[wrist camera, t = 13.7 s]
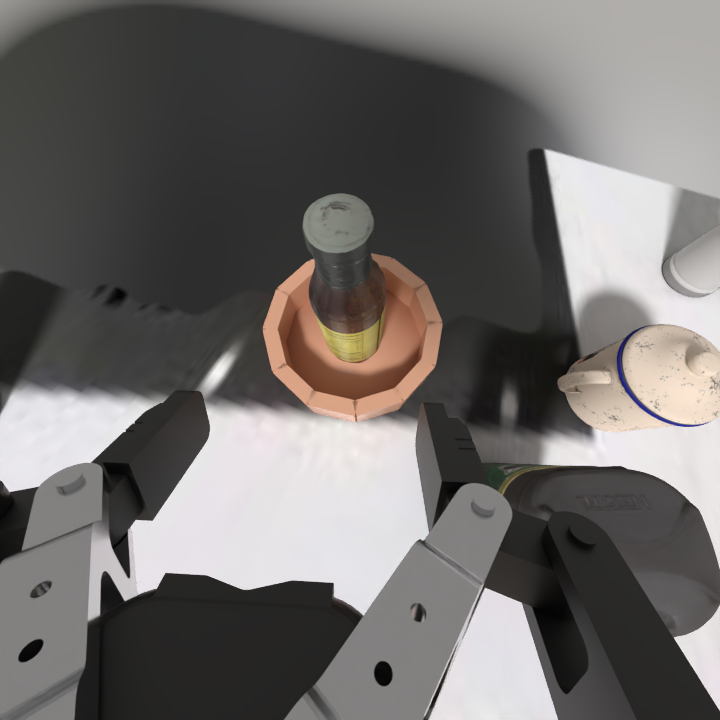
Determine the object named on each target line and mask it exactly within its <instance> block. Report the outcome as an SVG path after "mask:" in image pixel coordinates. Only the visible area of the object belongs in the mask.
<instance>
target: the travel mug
mask: <svg viewBox="0 0 720 720" xmlns="http://www.w3.org/2000/svg"><path fill="white" fill-rule="evenodd" d="M663 275H664V278H665V280H666V282H667V283H668V284H669V285H670V286H671V287H672V288H673V289H674V290H675V291H677V292H679V293H680V294H682V295H685V296H689V297H704V296H707V295H709V294H711V293H713V292H715V291H717V290H719V289H720V224H719V225H717V226H716V227H714V228H713V229H711V230H710V231H708V232H707V233H705V234H704V235H702V236H701V237H699V238H698V239H696V240H695V241H693V242H692V243H690V244H689V245H687V246H686V247H684V248H683V249H681V250H680V251H678V252H677V253H675V254H674V255H672V256H671V257H669V258H668V259H667V260H666V261H665V263H664V265H663Z"/></svg>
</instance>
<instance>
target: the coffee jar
mask: <svg viewBox="0 0 720 720" xmlns="http://www.w3.org/2000/svg"><path fill="white" fill-rule="evenodd" d="M482 465H483V468H484V470H485V473H486V475H487V478H488V480H489V483H490V485H491V487H492V488H493V489H495V490H496V491H498V492H499V493H500V494H502V495H503V496H504V497H505V499H506V500H507V501H508V503H509V504H510V507H511V508H513V509H515V510H517V511H519V512H522V513H525V514H528V515H531V516H534V517H537V518H540V519H543V520H546V521H548V520H549V518H550V517H551V515H552V514H554V513H556V512H560V511H568V512H573V513H577V514H580V515H582V516H584V517H586V518H588V519H590V520H591V521H593V522H594V523H596V524H597V525H598V526H600V527H601V528H602V529H603V530H604V531H605V532H606V533H607V534H608V536H609V537H610V538H611V540H612V541H613V543H614V544H615V546H616V548H617V549H618V551H619V552H620V554H621V555H622V557H623V559H624V560H625V562H626V563H627V565H628V567H629V568H630V570H631V571H632V573H633V574H634V576H635V578H636V579H637V581H638V582H639V584H640V586H641V587H642V589H643V590H644V592H645V593H646V595H647V597H648V598H649V600H650V601H651V603H652V605H653V606H654V608H655V609H656V611H657V613H658V614H659V616H660V617H661V619H662V620H663V622H664V624H665V625H666V627H667V628H668V630H669V632H670V633H671V635H672V636H673V637H677V636H682V635H686V634H689V633H691V632H693V631H695V630H697V629H699V628H700V627H702V626H703V625H704V624H705V623H706V622H707V621H708V620H710V619H711V618H712V616H713V615H714V614H715V612H716V611H717V609H718V607H719V605H720V569H719V565H718V561H717V558H716V554H715V551H714V548H713V545H712V542H711V539H710V536H709V533H708V531H707V528H706V525H705V523H704V520H703V518H702V515H701V513H700V511H699V509H697V508H696V507H695V506H694V505H693V504H692V503H690V502H689V501H688V500H687V498H686V497H685V496H683V495H682V494H681V493H680V492H679V491H678V490H676V489H675V488H674V487H672V486H671V485H669V484H668V483H666V482H665V481H663V480H661V479H659V478H657V477H655V476H653V475H650V474H647V473H644V472H640V471H635V470H629V469H626V468H624V467H621V466H611V467H596V466H555V465H532V464H506V463H482Z"/></svg>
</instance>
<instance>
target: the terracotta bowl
mask: <svg viewBox="0 0 720 720" xmlns="http://www.w3.org/2000/svg"><path fill="white" fill-rule="evenodd" d="M371 256H372V259H373V260H375V261H376V262H377V263H378V264H379V267H380V269H381V270H382V271H383V273H384V277H385V282H386V292H385V295H386V304H385V313H384V323H383V332H382V339H381V343H380V345H379V348H378V350H377V352H376V353H375V354H374V355H373V356H371V357H370V358H369V359H368V360H366V361H364V362H362V363H348V362H345V361H342V360H340V359H338V358H337V357H336V356H335V355H334V354H333V353H332V352H331V351H330V350H329V348H328V346H327V344H326V341H325V339H324V336H323V334H322V331H321V328H320V326H319V323H318V321H317V318H316V316H315V314H314V312H313V309H312V307H311V303H310V300H309V283H310V280H311V277H312V274H313V271H314V268H315V261H314V259H312V260H310V262H309V261H307V262H306V263H305V264H304V265H303V266H302V267H301V268H300V269H298V270H297V271H296V272H295V273H294V274H293V275H292V276H290V277H289V278H288V279H287V280H286V281H285V282H284V283H282V284H281V285H280V286H279V287H278V290H276V292H275V295H274V297H273V300H272V303H271V306H270V309H269V312H268V315H267V317H266V320H265V323H264V326H263V329H264V330H263V333H264V338H265V342H266V346H267V351H268V355H269V360H270V364H271V368H272V371H273V373H274V374H275V375H276V376H277V377H278V378H279V379H280V380H281V381H282V382H283V383H284V384H285V385H286V386H287V387H288V388H289V389H290V390H291V391H292V392H293V393H294V394H295V395H296V396H297V397H298V398H299V399H300V400H301V401H302V402H304V403H305V404H306V405H307V406H308V407H309V408H310V409H311V410H312V411H313V412H315V413H317V414H322V415H326V416H330V417H334V418H339V419H343V420H347V421H352V422H356V420H357V422H360V421H363V420H367V419H370V418H373V417H376V416H379V415H383V414H386V413H389V412H392V411H396V410H398V409H399V408H400V407H401V406H402V405H403V404H404V403H405V402H406V400H407V399H408V398H409V397H410V396H411V395H412V394H413V393H414V392H415V390H416V389H417V388H418V387H419V386H420V385H421V384H422V383H423V381H424V380H425V379H426V378H427V377H428V375H429V374H430V373H431V371H432V370H433V369H434V367H435V365H436V361H437V355H438V349H439V343H440V337H441V331H442V325H443V323H442V319H441V317H440V315H439V312H438V310H437V308H436V305H435V303H434V300H433V298H432V296H431V293H430V291H429V289H428V286H427V284H425V282H424V281H423V280H421V279H420V278H419V277H417V276H416V275H415V274H414V273H412V272H411V271H410V270H408V269H407V268H406V267H404V266H403V265H402V264H401V263H399V262H398V261H397V260H395V259H394V258H393V259H392V260H391V258H392V257H388V256H382V255H377V254H372V253H371Z"/></svg>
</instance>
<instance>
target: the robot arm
mask: <svg viewBox="0 0 720 720" xmlns="http://www.w3.org/2000/svg"><path fill="white" fill-rule="evenodd" d="M209 432H210V424H209V420H208V416H207V412H206V407H205V403H204V399H203V395H202V393H201V392H199V391H186V390H177V391H175V392H174V393H173V394H172V395H170V396H169V397H168V398H167V399H166V400H165V401H164V402H163V403H160V404H158V405H156V406H154V407H153V408H151V409H149V410H147V411H146V412H144V413H143V414H142V415H141V416H140V417H139V418H138V419H137V420H136V421H135V423H134V424H132V425H131V426H130V427H129V428H127V429H126V432H123V433H122V434H121V435H120V436H119V437H118V438H117V439H116V440H115V441H114V442H113V443H112V444H110V445H109V446H108V447H107V448H106V449H105V450H104V451H103V452H102V453H101V454H100V455H99V456H98V457H97V458H96V459H95V460H93V461H92V462H91V463H82V464H77V465H74V466H71V467H68V468H65V469H63V470H61V471H59V472H57V473H55V474H54V475H52V476H51V477H49V478H48V479H47V480H45V481H44V482H43V483H42V484H41V485H40V486H39V487H35V488H30V489H25V490H19V491H14V492H9V491H8V490H7V488H6V487H5V485H4V484H3V482H2V481H0V720H429V719H430V717H431V714H432V712H433V710H434V707H435V705H436V703H437V700H438V698H439V696H440V693H441V691H442V689H443V686H444V684H445V682H446V679H447V677H448V674H449V672H450V670H451V667H452V665H453V662H454V660H455V657H456V655H457V652H458V650H459V648H460V645H461V643H462V641H463V638H464V636H465V634H466V631H467V629H468V627H469V624H470V622H471V620H472V617H473V615H474V613H475V610H476V608H477V606H478V603H479V601H480V599H481V596H482V594H483V592H484V589H485V588H487V589H490V590H492V591H495V592H497V593H500V594H502V595H505V596H507V597H509V598H512V599H514V600H517V601H519V602H522V605H523V608H524V611H525V614H526V618H527V621H528V624H529V627H530V630H531V634H532V637H533V640H534V643H535V646H536V650H537V653H538V656H539V659H540V662H541V666H542V669H543V672H544V675H545V679H546V682H547V685H548V688H549V691H550V695H551V698H552V701H553V704H554V707H555V711H556V714H557V717H558V720H720V711H719V709H718V708H717V706H716V704H715V703H714V701H713V700H712V698H711V697H710V695H709V693H708V692H707V690H706V689H705V687H704V685H703V684H702V682H701V681H700V679H699V678H698V676H697V674H696V673H695V671H694V670H693V668H692V666H691V665H690V663H689V662H688V660H687V658H686V657H685V655H684V654H683V652H682V651H681V649H680V647H679V646H678V644H677V643H676V641H675V639H674V638H673V636H672V635H671V633H670V632H669V630H668V628H667V627H666V625H665V624H664V622H663V620H662V619H661V617H660V616H659V614H658V613H657V611H656V609H655V608H654V606H653V605H652V603H651V601H650V600H649V598H648V597H647V595H646V593H645V592H644V590H643V589H642V587H641V586H640V584H639V582H638V581H637V579H636V578H635V576H634V574H633V573H632V571H631V570H630V568H629V567H628V565H627V563H626V562H625V560H624V559H623V557H622V555H621V554H620V552H619V551H618V549H617V548H616V546H615V544H614V543H613V541H612V540H611V538H610V537H609V536H608V534H607V533H606V532H605V531H604V530H603V529H602V528H601V527H600V526H598V525H597V524H596V523H594V522H593V521H591V520H590V519H588V518H586V517H584V516H582V515H580V514H577V513H573V512H568V511H560V512H556V513H554V514H552V515H551V517H550V518H549V520H548V521H546V520H543V519H540V518H537V517H534V516H531V515H528V514H525V513H522V512H519V511H517V510H515V509H513V508H511V507H510V504H509V503H508V501H507V500H506V499H505V497H504V496H503V495H502V494H500V493H499V492H498V491H496V490H495V489H493V488H492V487H491V485H490V483H489V480H488V478H487V475H486V473H485V470H484V468H483V465H482V463H481V460H480V458H479V455H478V453H477V451H476V448H475V445H474V443H473V441H472V438H471V436H470V433H469V431H468V428H467V427H466V426H465V425H464V424H463V423H462V422H461V421H460V420H459V419H458V418H448V416H447V413H446V410H445V407H444V405H443V404H442V403H425V402H422V403H421V406H420V412H419V419H418V426H417V432H416V455H417V462H418V468H419V474H420V480H421V486H422V492H423V498H424V504H425V510H426V516H427V522H428V528H429V534H428V536H427V537H426V539H425V540H424V541H422V540H420V539H419V540H418V541H416V542H415V544H414V545H413V546H412V547H411V549H410V550H409V552H408V553H407V554H406V556H405V557H404V559H403V560H402V562H401V563H400V565H399V566H398V567H397V569H396V570H395V572H394V573H393V575H392V576H391V577H390V579H389V580H388V582H387V583H386V585H385V586H384V587H383V589H382V590H381V592H380V593H379V595H378V596H377V598H376V599H375V600H374V602H373V603H372V605H371V606H370V608H369V609H368V610H367V612H366V613H365V615H364V616H363V615H362V614H361V613H360V612H359V611H358V610H356V609H355V608H354V607H352V606H351V605H349V604H347V603H346V602H344V601H342V600H340V599H337V598H335V597H334V583H324V582H307V581H288V582H283V583H279V584H274V585H270V586H265V587H260V588H256V589H251V590H242V589H239V588H237V587H234V586H232V585H229V584H227V583H224V582H222V581H219V580H217V579H214V578H212V577H209V576H206V575H190V574H173V573H165V575H164V577H163V579H162V580H161V582H160V584H159V586H158V588H157V589H153V590H150V591H147V592H144V593H141V594H139V595H138V593H137V587H136V576H135V562H134V548H133V534H132V531H131V529H130V527H131V525H132V524H133V523H134V521H135V520H150V521H153V519H154V518H155V516H156V515H157V513H158V512H159V510H160V509H161V507H162V506H163V505H164V503H165V502H166V500H167V499H168V497H169V496H170V494H171V493H172V491H173V490H174V488H175V487H176V486H177V484H178V483H179V481H180V480H181V478H182V477H183V475H184V474H185V472H186V471H187V469H188V468H189V466H190V465H191V464H192V462H193V461H194V459H195V458H196V456H197V455H198V453H199V452H200V450H201V449H202V447H203V446H204V445H205V443H206V441H207V439H208V437H209Z"/></svg>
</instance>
